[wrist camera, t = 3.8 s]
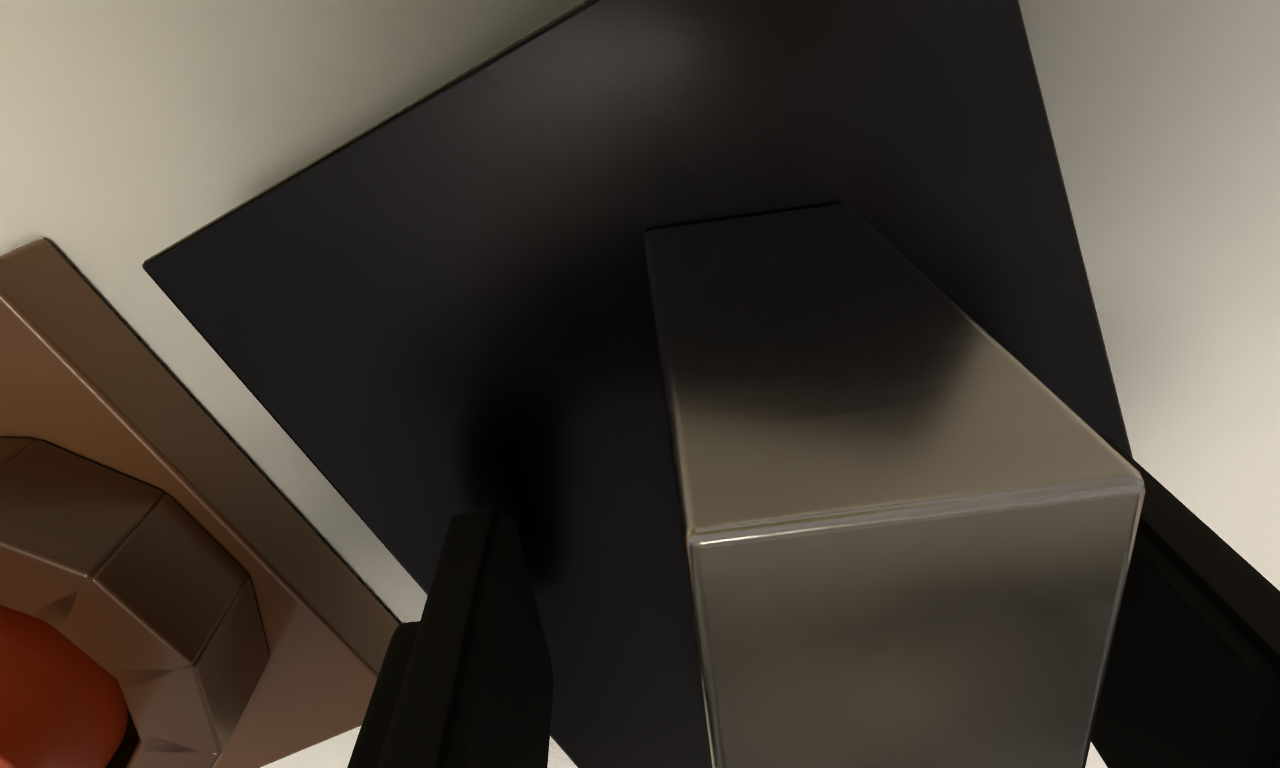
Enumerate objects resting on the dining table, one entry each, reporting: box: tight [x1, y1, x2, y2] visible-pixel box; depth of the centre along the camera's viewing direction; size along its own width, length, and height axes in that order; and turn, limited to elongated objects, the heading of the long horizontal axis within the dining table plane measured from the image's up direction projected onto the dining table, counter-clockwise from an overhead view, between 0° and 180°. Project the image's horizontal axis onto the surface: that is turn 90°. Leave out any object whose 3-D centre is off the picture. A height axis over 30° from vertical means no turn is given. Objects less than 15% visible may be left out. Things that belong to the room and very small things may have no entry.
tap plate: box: [142, 0, 1133, 768], centre depth 12 cm, size 14×10×3 cm
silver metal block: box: [643, 204, 1145, 768], centre depth 8 cm, size 9×2×6 cm, turn 7°
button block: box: [0, 239, 400, 768], centre depth 13 cm, size 10×8×4 cm
